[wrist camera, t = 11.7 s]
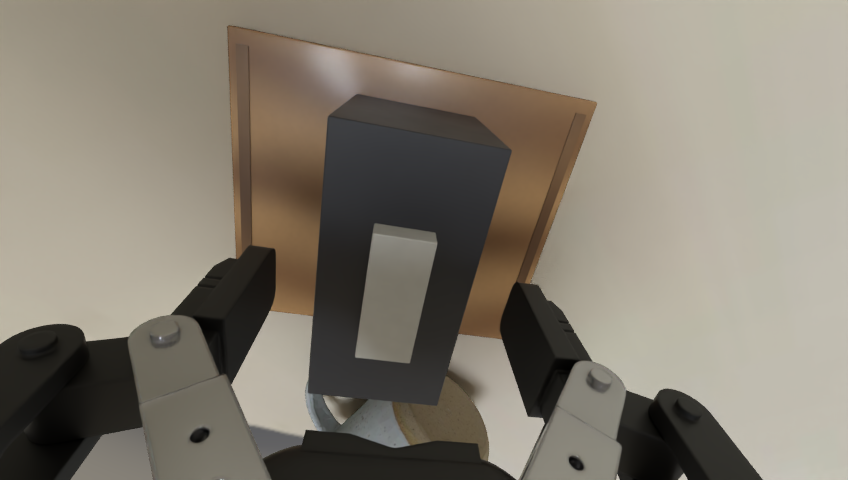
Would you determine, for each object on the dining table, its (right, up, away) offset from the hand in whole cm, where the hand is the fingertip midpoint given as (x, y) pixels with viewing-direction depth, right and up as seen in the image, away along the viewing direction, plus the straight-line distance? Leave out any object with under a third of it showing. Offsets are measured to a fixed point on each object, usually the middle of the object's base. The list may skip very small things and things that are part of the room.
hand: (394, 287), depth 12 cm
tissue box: (0, +3, +6) cm, 7 cm away
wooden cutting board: (0, +3, +7) cm, 7 cm away
